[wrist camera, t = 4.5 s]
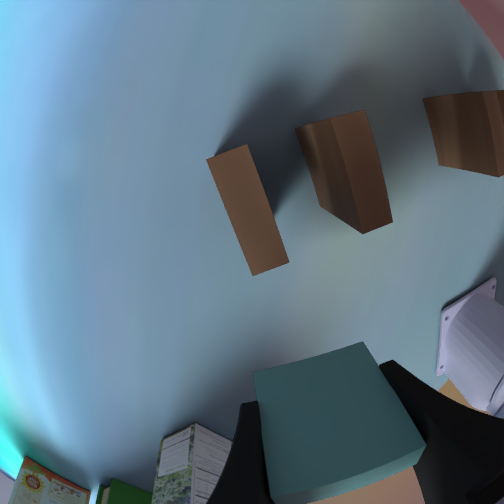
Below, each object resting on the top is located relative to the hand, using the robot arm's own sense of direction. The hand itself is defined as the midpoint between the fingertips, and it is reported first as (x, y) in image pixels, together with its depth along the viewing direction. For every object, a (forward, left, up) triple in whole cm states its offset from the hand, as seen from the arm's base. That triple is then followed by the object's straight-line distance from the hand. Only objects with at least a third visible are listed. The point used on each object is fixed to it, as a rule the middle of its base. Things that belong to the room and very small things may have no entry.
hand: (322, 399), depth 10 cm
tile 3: (+7, -5, -9) cm, 13 cm away
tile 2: (+7, -15, -9) cm, 19 cm away
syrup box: (-14, +13, -10) cm, 21 cm away
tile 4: (+7, 0, -9) cm, 12 cm away
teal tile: (0, 0, -2) cm, 2 cm away
